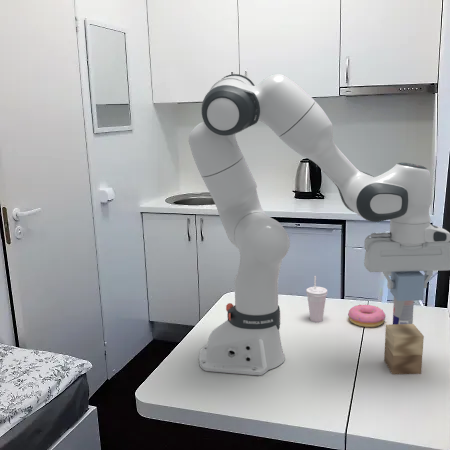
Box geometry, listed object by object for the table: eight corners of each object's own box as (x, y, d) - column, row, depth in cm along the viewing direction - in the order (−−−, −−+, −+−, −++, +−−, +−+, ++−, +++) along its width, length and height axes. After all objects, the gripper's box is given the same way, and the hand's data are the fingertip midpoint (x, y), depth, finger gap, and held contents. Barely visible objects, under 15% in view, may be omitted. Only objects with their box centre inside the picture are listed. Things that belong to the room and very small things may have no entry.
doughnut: (348, 313, 163) (349, 300, 162) (385, 316, 160) (385, 303, 159) (346, 327, 153) (347, 314, 152) (385, 330, 150) (386, 317, 149)
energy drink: (396, 326, 152) (398, 288, 149) (414, 331, 149) (417, 292, 146) (389, 333, 148) (391, 293, 145) (407, 338, 145) (410, 297, 142)
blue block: (397, 300, 122) (398, 276, 121) (390, 291, 128) (391, 268, 127) (423, 300, 122) (424, 276, 121) (414, 291, 128) (415, 268, 126)
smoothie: (309, 314, 163) (309, 272, 160) (329, 317, 160) (330, 274, 157) (303, 322, 157) (303, 278, 154) (323, 325, 155) (324, 280, 151)
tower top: (393, 355, 125) (394, 336, 124) (385, 342, 132) (385, 324, 130) (422, 355, 125) (423, 336, 124) (412, 342, 131) (413, 324, 130)
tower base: (392, 374, 126) (393, 356, 125) (384, 361, 133) (384, 343, 131) (421, 374, 126) (422, 355, 124) (411, 360, 132) (412, 342, 131)
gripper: (368, 236, 118) (366, 293, 122) (458, 234, 118) (454, 291, 121) (361, 230, 125) (360, 284, 128) (447, 227, 124) (444, 282, 127)
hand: (406, 287), depth 124 cm, fingers closed on blue block, 6 cm apart
